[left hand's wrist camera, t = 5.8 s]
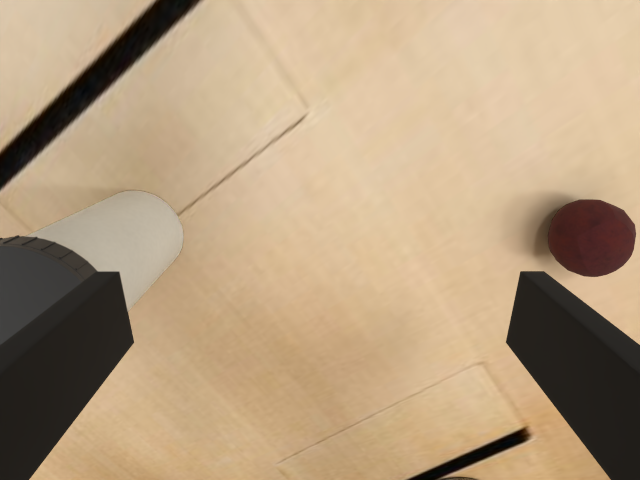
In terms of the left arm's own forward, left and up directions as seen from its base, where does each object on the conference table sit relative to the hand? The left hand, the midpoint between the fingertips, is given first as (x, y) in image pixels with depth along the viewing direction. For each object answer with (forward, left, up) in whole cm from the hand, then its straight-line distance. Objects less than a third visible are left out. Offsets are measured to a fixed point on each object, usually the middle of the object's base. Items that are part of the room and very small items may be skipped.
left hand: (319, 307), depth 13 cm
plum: (+6, +27, -28) cm, 39 cm away
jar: (+7, -20, -28) cm, 35 cm away
